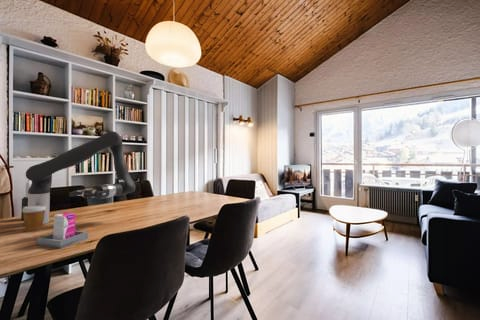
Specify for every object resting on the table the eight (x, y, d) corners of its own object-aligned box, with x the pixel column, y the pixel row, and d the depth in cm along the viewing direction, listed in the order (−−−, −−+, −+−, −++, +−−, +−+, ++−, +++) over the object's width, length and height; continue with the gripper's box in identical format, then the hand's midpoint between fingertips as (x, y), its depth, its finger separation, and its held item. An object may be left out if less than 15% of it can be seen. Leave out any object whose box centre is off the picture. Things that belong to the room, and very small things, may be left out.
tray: (37, 245, 98) (37, 238, 98) (66, 235, 111) (66, 229, 111) (60, 248, 95) (60, 241, 95) (88, 238, 108) (88, 232, 108)
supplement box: (63, 242, 100) (63, 216, 100) (52, 240, 101) (53, 214, 101) (75, 237, 105) (76, 213, 105) (65, 236, 107) (66, 212, 107)
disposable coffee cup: (44, 230, 117) (45, 207, 117) (19, 233, 112) (19, 209, 112) (47, 226, 125) (47, 204, 125) (23, 228, 119) (24, 205, 119)
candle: (36, 218, 138) (37, 177, 138) (25, 220, 133) (26, 178, 133) (30, 217, 140) (31, 177, 140) (20, 219, 135) (21, 177, 135)
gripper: (94, 183, 126) (65, 186, 111) (115, 185, 123) (89, 188, 107) (93, 197, 126) (64, 201, 111) (115, 199, 123) (88, 204, 107)
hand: (76, 195), depth 109 cm, fingers open, 8 cm apart
